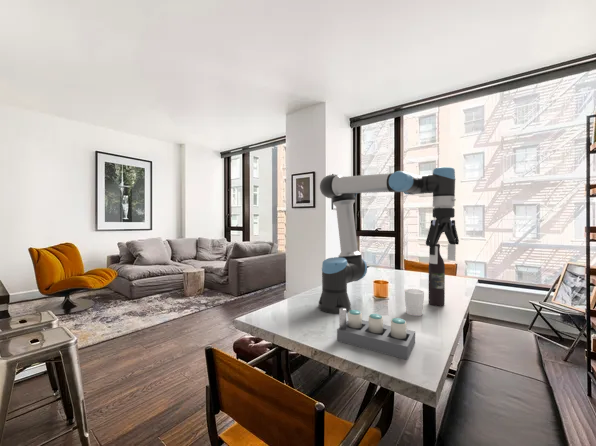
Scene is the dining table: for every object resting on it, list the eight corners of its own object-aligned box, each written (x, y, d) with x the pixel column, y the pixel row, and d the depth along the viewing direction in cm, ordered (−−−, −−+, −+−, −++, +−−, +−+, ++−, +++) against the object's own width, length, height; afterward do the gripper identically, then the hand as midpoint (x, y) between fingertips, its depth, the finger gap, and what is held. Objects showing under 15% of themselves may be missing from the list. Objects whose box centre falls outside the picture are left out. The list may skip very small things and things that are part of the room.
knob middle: (366, 331, 90) (366, 316, 90) (371, 326, 95) (371, 312, 94) (380, 334, 88) (380, 319, 88) (384, 329, 92) (384, 315, 92)
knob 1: (346, 326, 95) (346, 312, 95) (351, 321, 99) (351, 308, 99) (359, 329, 92) (359, 315, 92) (363, 324, 96) (363, 311, 96)
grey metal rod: (338, 329, 92) (338, 309, 92) (341, 326, 94) (341, 307, 94) (344, 330, 91) (344, 310, 91) (347, 328, 93) (347, 308, 93)
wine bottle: (429, 305, 129) (429, 244, 128) (427, 301, 135) (428, 243, 135) (445, 307, 126) (446, 244, 126) (443, 303, 133) (443, 243, 133)
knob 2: (389, 336, 86) (389, 321, 86) (392, 331, 90) (392, 316, 90) (404, 340, 84) (404, 324, 84) (407, 334, 88) (407, 319, 88)
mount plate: (337, 340, 92) (337, 329, 92) (351, 327, 103) (351, 317, 103) (407, 359, 79) (407, 346, 79) (415, 343, 90) (415, 331, 90)
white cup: (425, 317, 114) (426, 294, 114) (406, 315, 116) (406, 293, 116) (421, 310, 122) (421, 289, 122) (403, 309, 124) (403, 288, 123)
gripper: (435, 206, 93) (435, 266, 94) (468, 208, 107) (468, 260, 108) (416, 207, 99) (415, 263, 100) (449, 208, 113) (448, 258, 114)
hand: (442, 262), depth 104 cm, fingers open, 13 cm apart
